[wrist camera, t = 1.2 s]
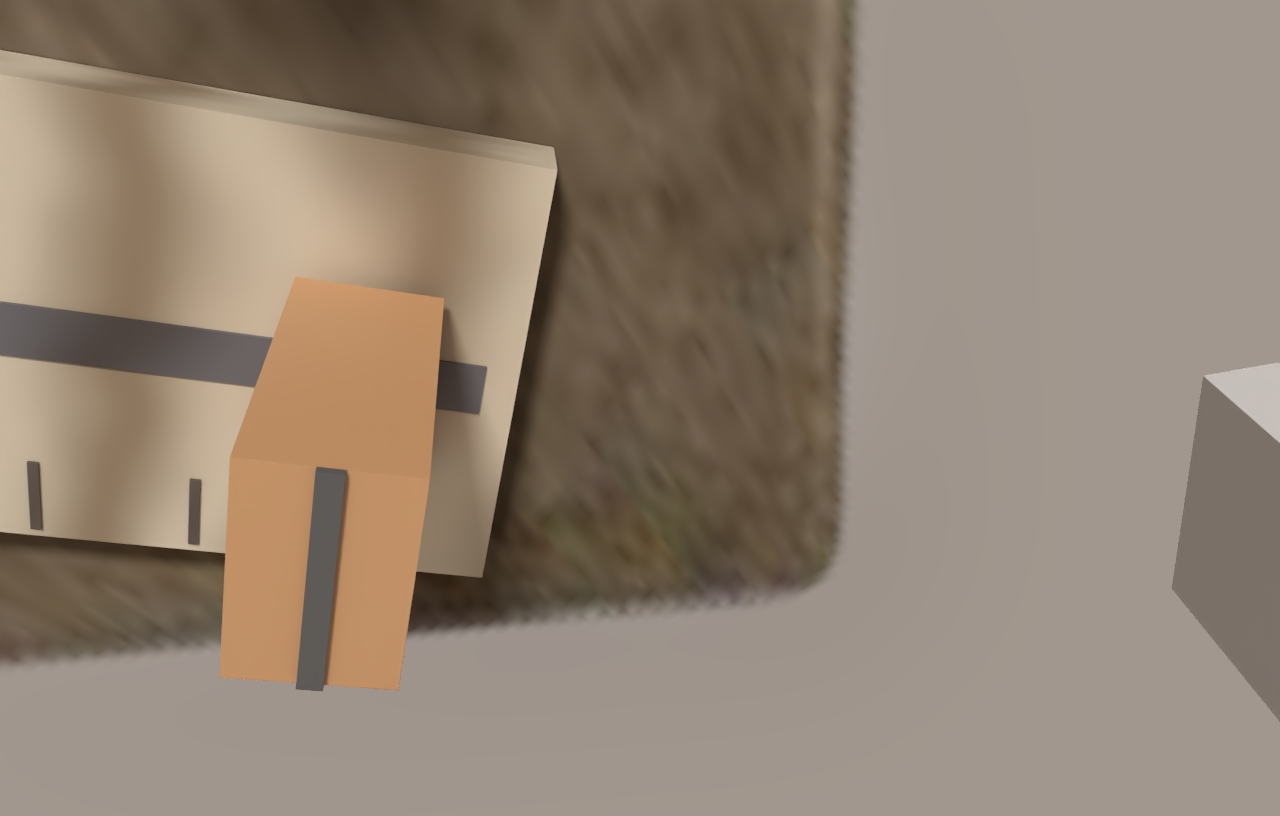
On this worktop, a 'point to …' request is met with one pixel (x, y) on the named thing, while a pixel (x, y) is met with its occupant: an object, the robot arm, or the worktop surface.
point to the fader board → (235, 290)
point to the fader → (331, 489)
